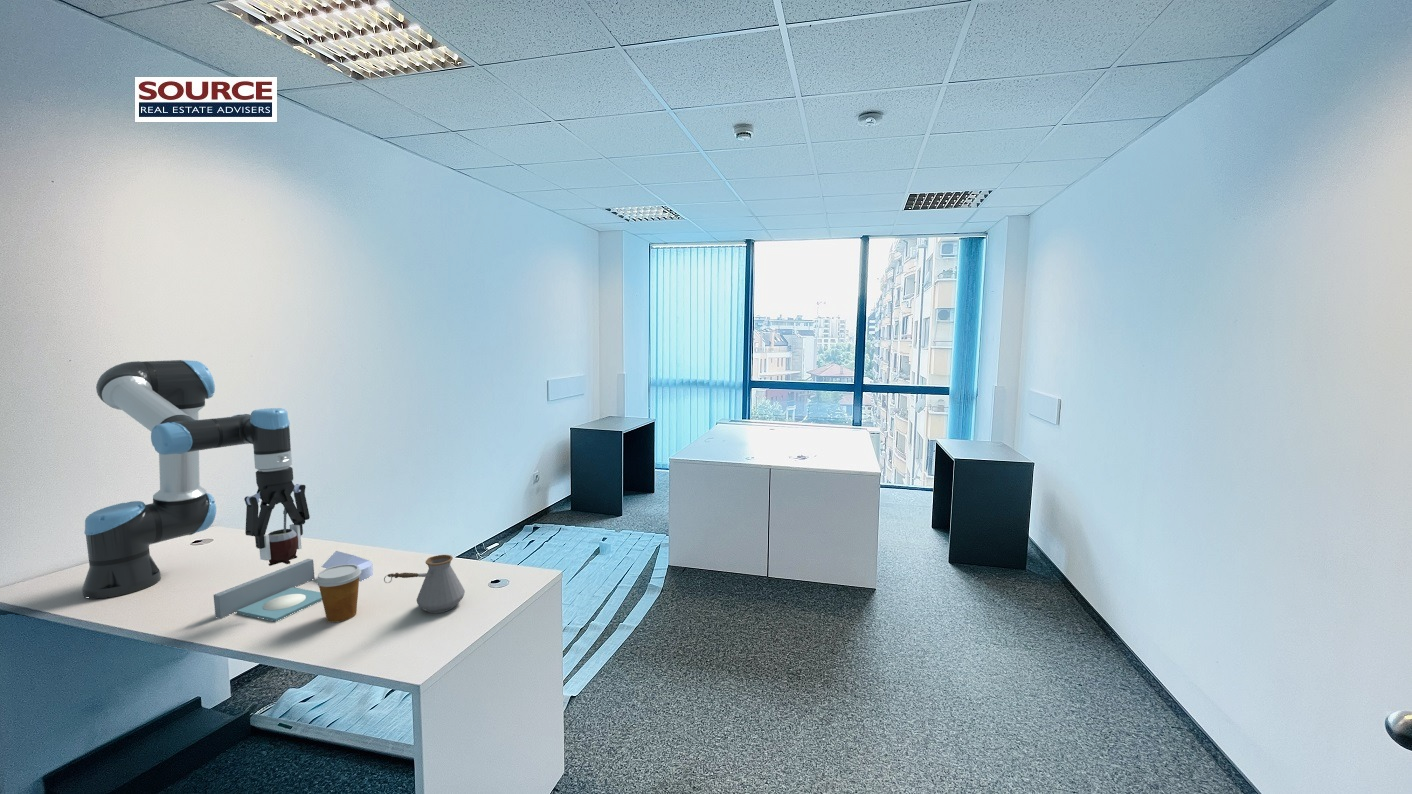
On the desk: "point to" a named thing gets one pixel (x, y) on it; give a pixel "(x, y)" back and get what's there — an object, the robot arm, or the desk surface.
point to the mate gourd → (283, 544)
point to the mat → (282, 604)
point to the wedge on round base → (345, 558)
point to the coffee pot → (437, 585)
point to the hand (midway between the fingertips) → (281, 553)
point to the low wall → (262, 587)
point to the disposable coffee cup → (339, 591)
